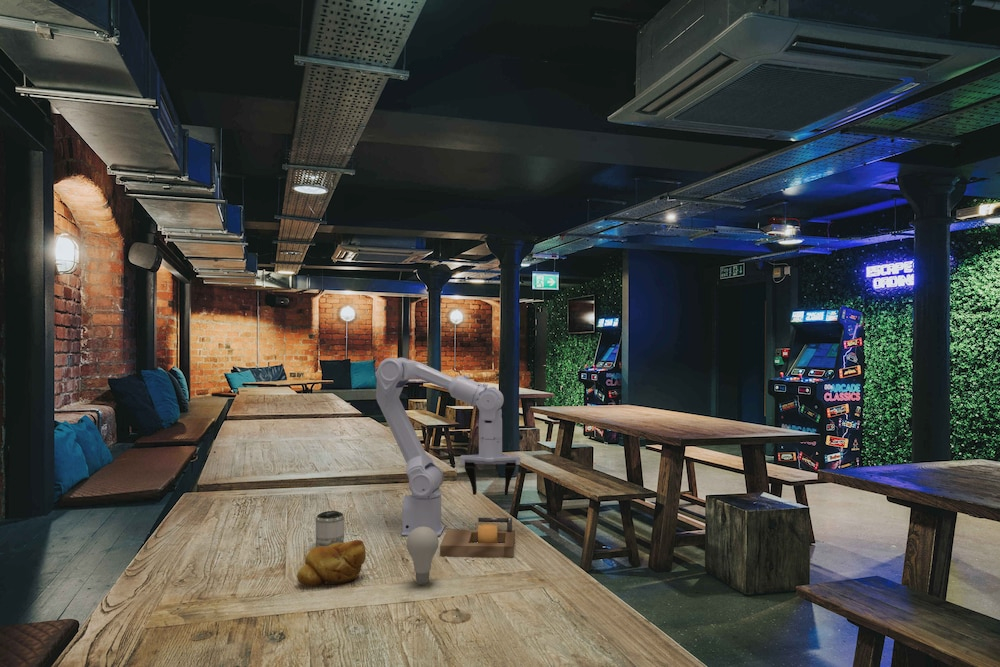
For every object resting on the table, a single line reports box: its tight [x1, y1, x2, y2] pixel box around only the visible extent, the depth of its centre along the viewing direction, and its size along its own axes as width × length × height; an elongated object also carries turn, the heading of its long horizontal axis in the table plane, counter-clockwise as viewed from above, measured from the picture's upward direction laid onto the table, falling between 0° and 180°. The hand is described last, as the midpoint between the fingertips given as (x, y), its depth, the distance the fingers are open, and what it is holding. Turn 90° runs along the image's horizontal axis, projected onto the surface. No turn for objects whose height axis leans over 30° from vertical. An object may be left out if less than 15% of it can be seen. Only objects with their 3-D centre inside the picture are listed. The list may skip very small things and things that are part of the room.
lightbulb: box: [406, 526, 439, 586], centre depth 119 cm, size 6×6×11 cm
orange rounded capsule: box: [477, 523, 498, 543], centre depth 140 cm, size 4×4×5 cm
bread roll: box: [296, 539, 367, 588], centre depth 121 cm, size 13×10×8 cm
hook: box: [477, 516, 513, 532], centre depth 145 cm, size 8×1×6 cm, turn 87°
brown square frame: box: [439, 528, 516, 559], centre depth 140 cm, size 16×12×2 cm
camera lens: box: [315, 510, 345, 547], centre depth 141 cm, size 6×6×8 cm
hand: (490, 494), depth 150 cm, fingers open, 7 cm apart
